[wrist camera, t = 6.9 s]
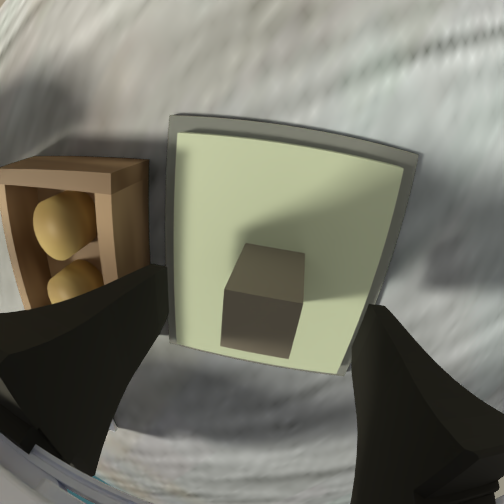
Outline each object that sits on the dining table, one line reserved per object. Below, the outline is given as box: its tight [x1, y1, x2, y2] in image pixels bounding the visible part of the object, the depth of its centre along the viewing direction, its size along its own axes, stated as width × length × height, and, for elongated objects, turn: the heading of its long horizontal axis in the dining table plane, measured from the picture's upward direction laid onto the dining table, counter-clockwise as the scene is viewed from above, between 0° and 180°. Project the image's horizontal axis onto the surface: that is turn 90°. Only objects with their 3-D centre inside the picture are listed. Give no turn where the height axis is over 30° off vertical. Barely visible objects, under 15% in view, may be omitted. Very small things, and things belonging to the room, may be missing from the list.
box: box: [0, 156, 150, 310], centre depth 13 cm, size 10×8×3 cm
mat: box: [165, 115, 419, 376], centre depth 13 cm, size 12×10×1 cm
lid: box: [174, 132, 404, 374], centre depth 11 cm, size 11×9×4 cm
